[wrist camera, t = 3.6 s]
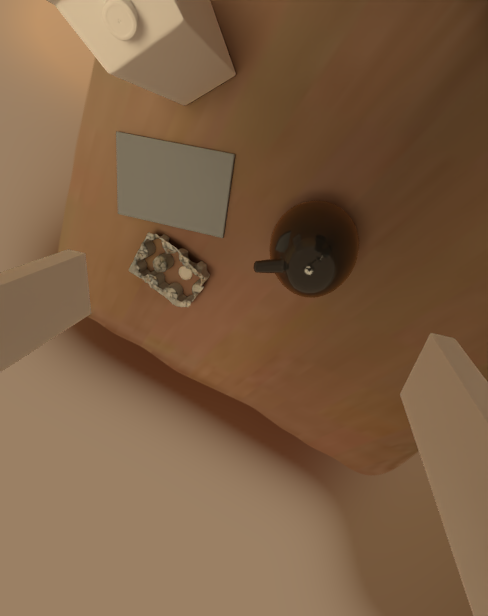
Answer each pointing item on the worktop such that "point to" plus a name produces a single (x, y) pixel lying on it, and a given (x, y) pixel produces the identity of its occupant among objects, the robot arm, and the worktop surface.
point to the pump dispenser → (312, 249)
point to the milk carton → (154, 43)
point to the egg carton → (164, 263)
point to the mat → (173, 183)
